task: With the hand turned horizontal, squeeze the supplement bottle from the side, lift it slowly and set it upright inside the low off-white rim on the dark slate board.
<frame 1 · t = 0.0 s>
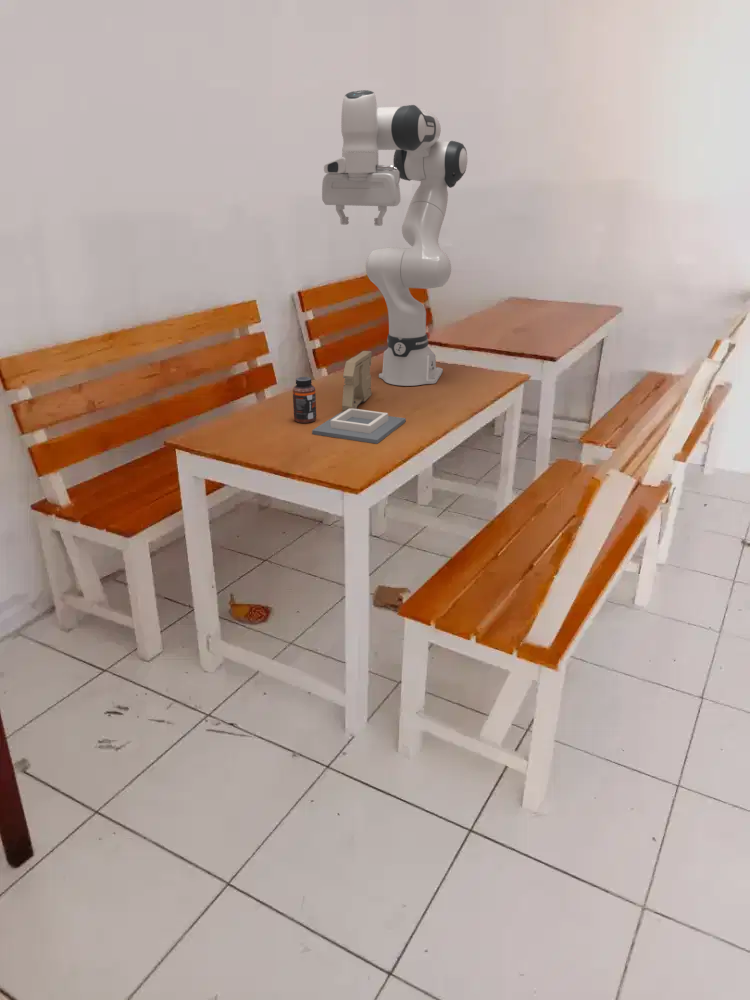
hand: (361, 225, 198), 48 cm above the table, tool pointing down, fingers open, 8 cm apart
holder: (359, 427, 202), on the table
supplement bottle: (305, 420, 209), on the table
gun: (357, 407, 220), on the table, touching holder
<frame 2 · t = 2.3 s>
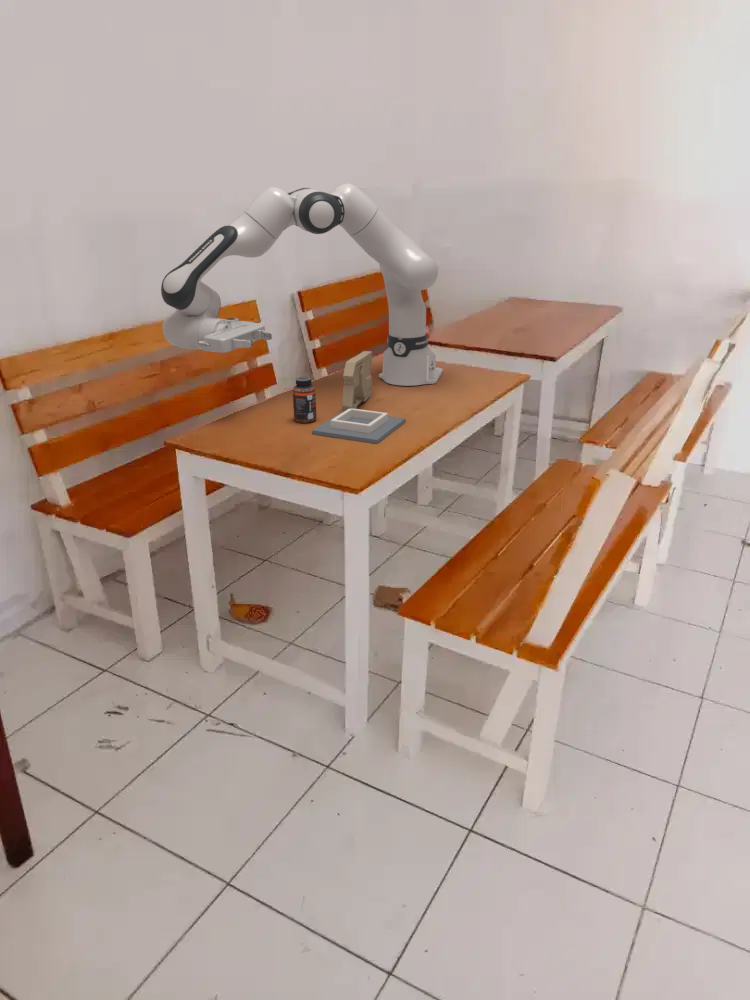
hand: (261, 340, 205), 20 cm above the table, tool horizontal, fingers open, 8 cm apart
nothing on the table moved.
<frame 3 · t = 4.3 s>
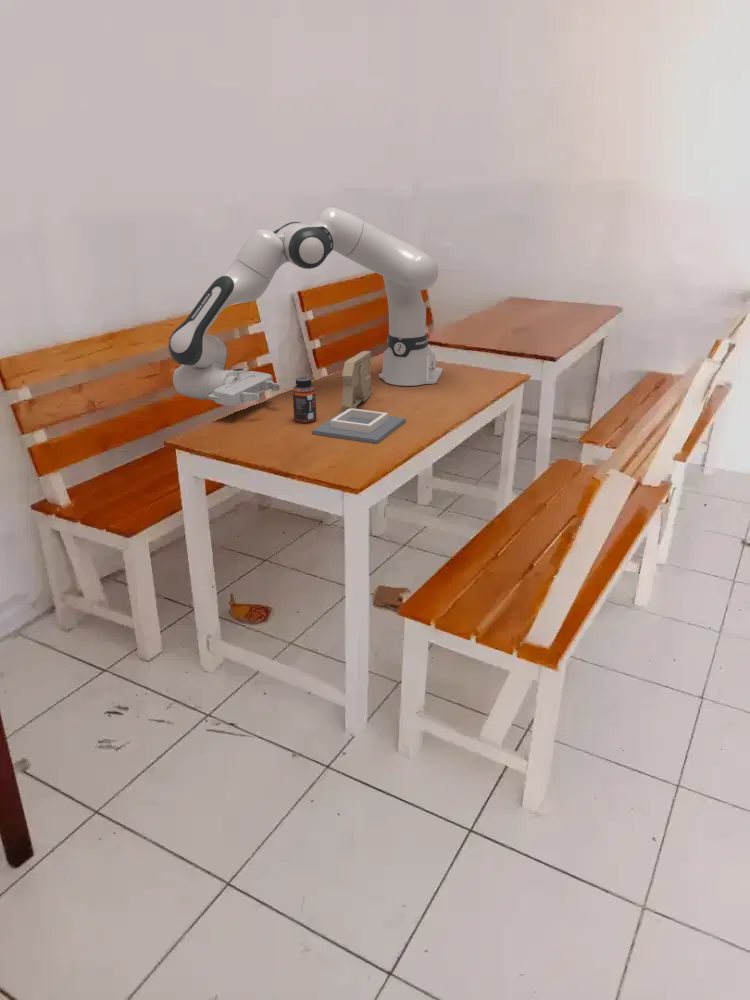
hand: (269, 392, 210), 6 cm above the table, tool horizontal, fingers open, 8 cm apart
nothing on the table moved.
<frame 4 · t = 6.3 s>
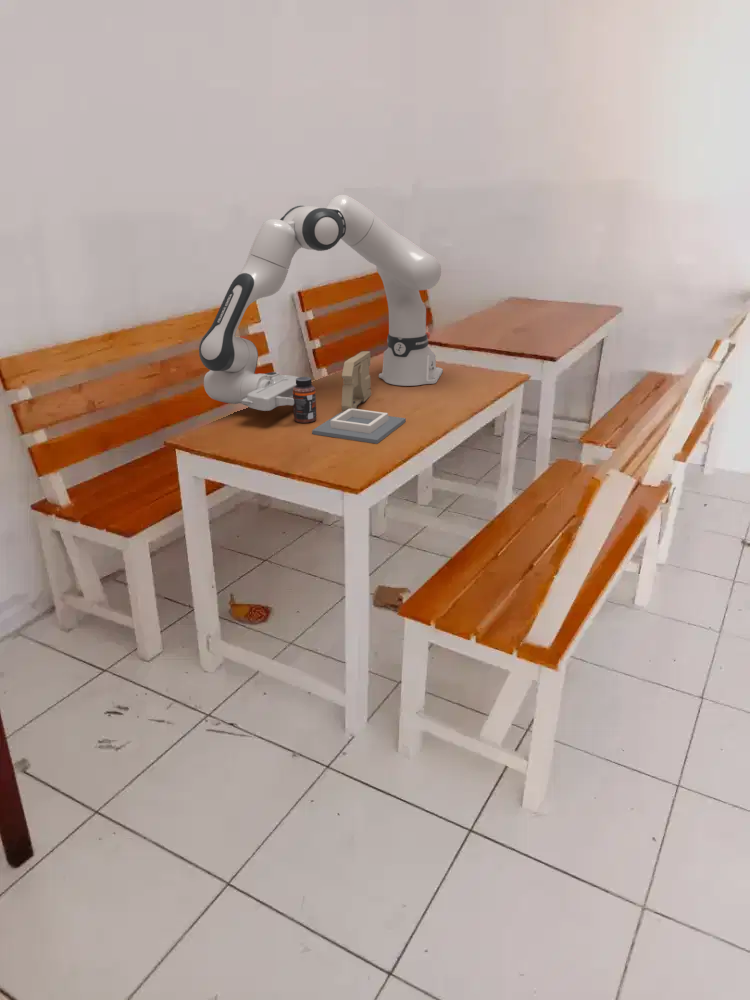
hand: (303, 396, 206), 6 cm above the table, tool horizontal, fingers open, 8 cm apart
nothing on the table moved.
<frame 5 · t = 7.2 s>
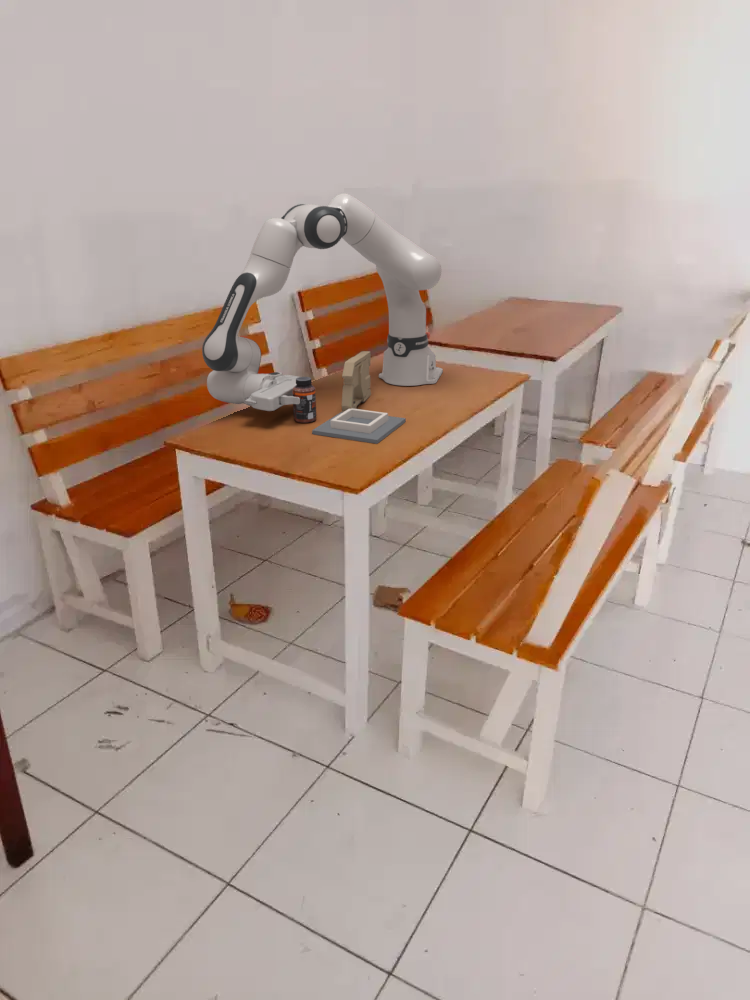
hand: (307, 396, 206), 7 cm above the table, tool horizontal, fingers closed on supplement bottle, 6 cm apart
supplement bottle: (305, 420, 209), on the table, touching gripper
everything else where it was.
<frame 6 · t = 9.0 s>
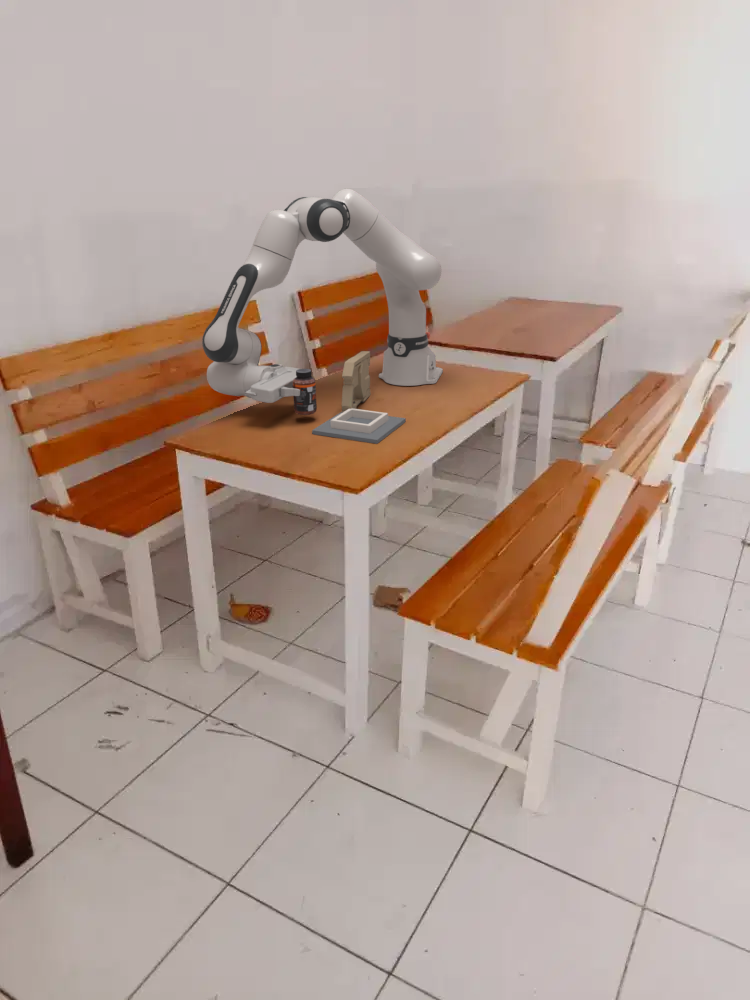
hand: (307, 388, 205), 9 cm above the table, tool horizontal, fingers closed on supplement bottle, 6 cm apart
supplement bottle: (305, 412, 208), point 2 cm above the table, touching gripper
everything else where it was.
when the fingers open (9 cm above the table, at t = 15.0 s): supplement bottle drops 1 cm, resting on holder.
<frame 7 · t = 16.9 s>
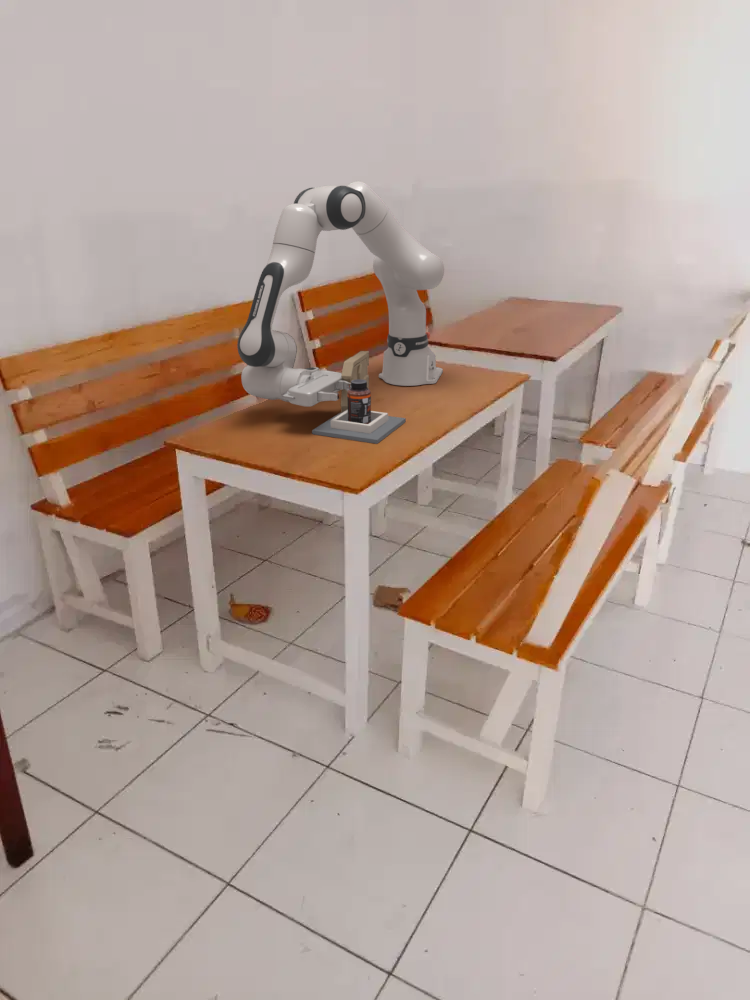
hand: (346, 392, 200), 9 cm above the table, tool horizontal, fingers open, 8 cm apart
supplement bottle: (359, 424, 202), point 1 cm above the table, touching holder
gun: (356, 407, 220), on the table, touching gripper, holder
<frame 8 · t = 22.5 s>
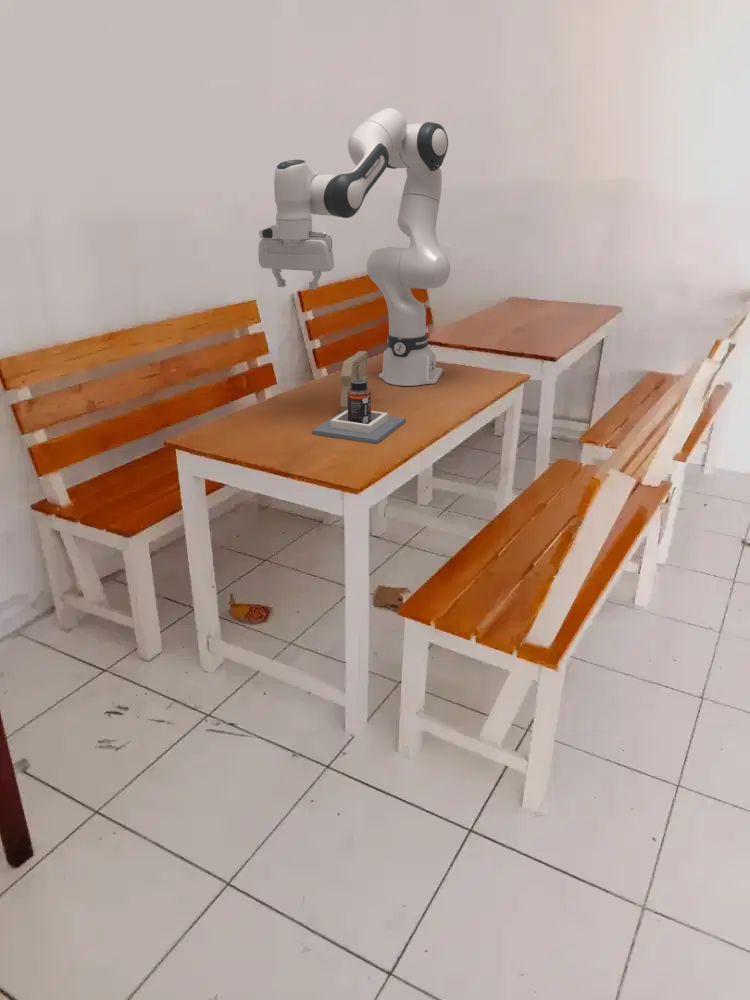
hand: (297, 288, 201), 33 cm above the table, tool pointing down, fingers open, 8 cm apart
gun: (355, 407, 220), on the table, touching holder
everything else where it was.
at the end: supplement bottle 0.1 cm off-centre on the holder, point 0.8 cm above the holder's base; supplement bottle tilted 0°; the gripper is holding nothing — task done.
